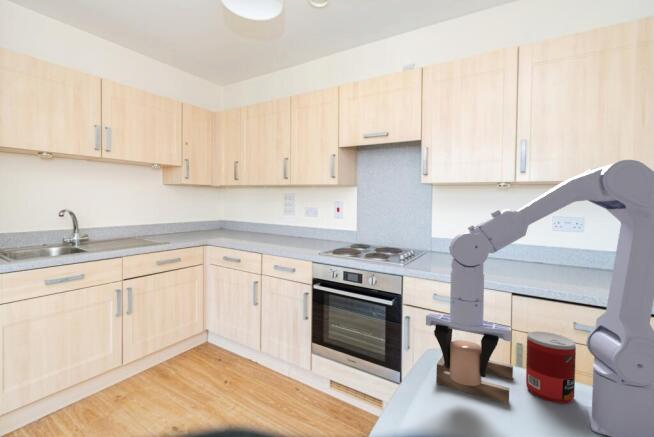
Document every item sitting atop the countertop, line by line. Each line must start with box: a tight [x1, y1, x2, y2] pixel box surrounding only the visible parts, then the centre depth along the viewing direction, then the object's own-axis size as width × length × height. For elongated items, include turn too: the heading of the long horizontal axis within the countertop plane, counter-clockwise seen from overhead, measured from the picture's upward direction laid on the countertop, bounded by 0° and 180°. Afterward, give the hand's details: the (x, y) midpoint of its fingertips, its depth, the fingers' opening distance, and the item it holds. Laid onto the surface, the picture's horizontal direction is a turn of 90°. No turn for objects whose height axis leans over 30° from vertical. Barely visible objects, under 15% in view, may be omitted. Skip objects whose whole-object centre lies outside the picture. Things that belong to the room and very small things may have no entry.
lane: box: [435, 355, 514, 405], centre depth 69 cm, size 13×12×4 cm
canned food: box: [525, 331, 577, 404], centre depth 65 cm, size 8×8×11 cm
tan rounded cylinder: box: [449, 339, 483, 386], centre depth 61 cm, size 6×6×6 cm
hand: (465, 370), depth 61 cm, fingers closed on tan rounded cylinder, 5 cm apart
